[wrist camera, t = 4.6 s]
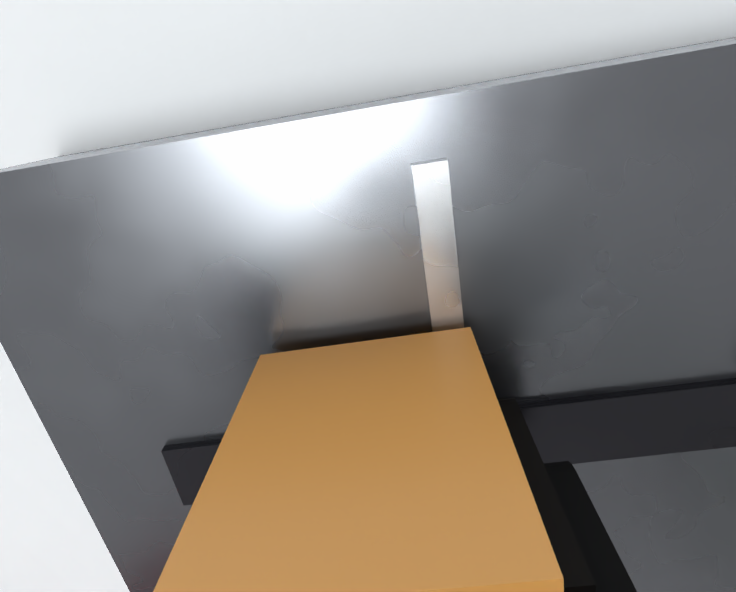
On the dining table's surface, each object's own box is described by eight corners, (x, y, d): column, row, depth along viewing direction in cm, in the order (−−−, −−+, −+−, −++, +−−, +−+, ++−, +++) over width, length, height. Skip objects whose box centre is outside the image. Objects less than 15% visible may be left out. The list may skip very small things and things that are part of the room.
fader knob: (476, 325, 9) (586, 609, 4) (496, 555, 11) (582, 912, 6) (255, 355, 9) (117, 649, 4) (318, 571, 12) (272, 920, 7)
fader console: (1450, -89, 10) (2178, -209, 6) (1138, 457, 15) (1405, 587, 11) (57, 157, 12) (-95, 189, 8) (213, 547, 18) (165, 679, 14)
